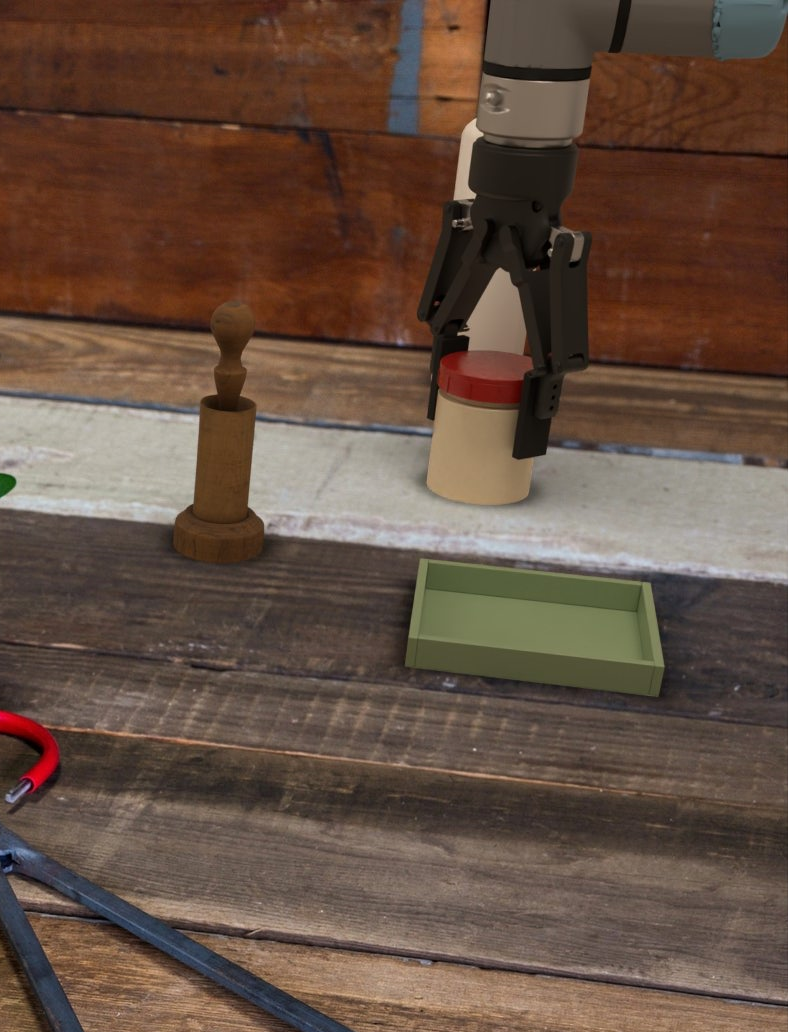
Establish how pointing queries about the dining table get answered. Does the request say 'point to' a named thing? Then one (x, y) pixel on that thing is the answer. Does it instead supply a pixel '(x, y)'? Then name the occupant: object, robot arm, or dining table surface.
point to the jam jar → (476, 452)
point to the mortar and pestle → (224, 455)
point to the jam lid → (484, 375)
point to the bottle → (500, 305)
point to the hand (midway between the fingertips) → (484, 436)
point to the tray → (535, 627)
